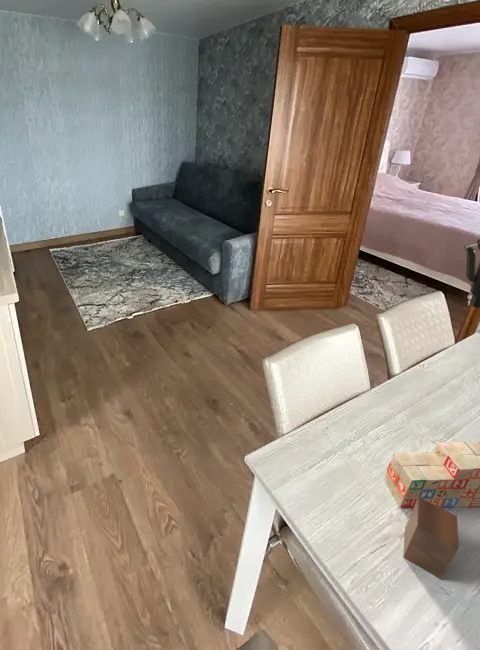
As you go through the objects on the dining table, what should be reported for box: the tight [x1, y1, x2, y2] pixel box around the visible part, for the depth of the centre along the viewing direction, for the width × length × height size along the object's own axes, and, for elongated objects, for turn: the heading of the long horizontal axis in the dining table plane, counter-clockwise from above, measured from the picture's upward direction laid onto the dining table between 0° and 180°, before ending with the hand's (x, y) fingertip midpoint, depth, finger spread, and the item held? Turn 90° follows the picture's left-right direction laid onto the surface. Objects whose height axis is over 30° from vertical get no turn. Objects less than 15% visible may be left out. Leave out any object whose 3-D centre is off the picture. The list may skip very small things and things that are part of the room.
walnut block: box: [402, 497, 460, 580], centre depth 65 cm, size 6×6×10 cm
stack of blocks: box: [383, 440, 480, 508], centre depth 75 cm, size 21×6×12 cm, turn 91°
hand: (474, 304), depth 95 cm, fingers closed
